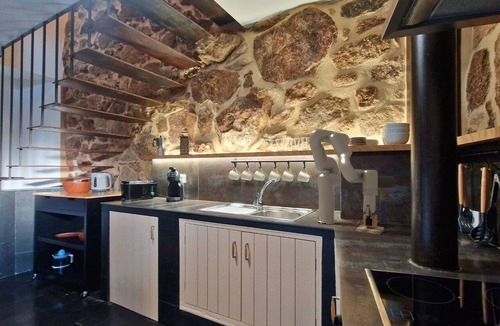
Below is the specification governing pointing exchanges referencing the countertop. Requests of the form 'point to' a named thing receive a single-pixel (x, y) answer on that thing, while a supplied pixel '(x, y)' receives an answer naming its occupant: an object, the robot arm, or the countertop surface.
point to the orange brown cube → (374, 220)
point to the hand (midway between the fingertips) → (370, 224)
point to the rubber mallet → (384, 183)
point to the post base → (370, 229)
